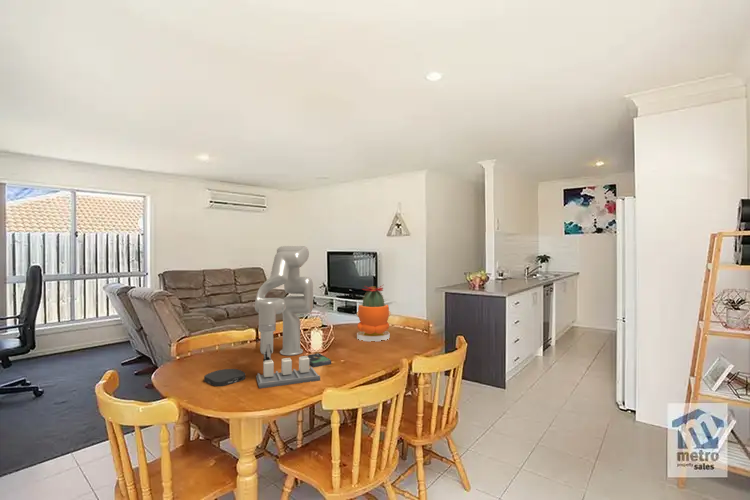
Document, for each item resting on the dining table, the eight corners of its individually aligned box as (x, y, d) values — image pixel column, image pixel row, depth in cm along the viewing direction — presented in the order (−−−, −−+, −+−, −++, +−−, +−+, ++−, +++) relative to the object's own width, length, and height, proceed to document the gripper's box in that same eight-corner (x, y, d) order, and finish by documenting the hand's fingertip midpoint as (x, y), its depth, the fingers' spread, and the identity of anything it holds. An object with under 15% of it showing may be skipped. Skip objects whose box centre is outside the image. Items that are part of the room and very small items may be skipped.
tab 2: (281, 372, 172) (281, 357, 172) (290, 371, 174) (290, 356, 174) (282, 375, 169) (282, 360, 168) (291, 374, 170) (291, 359, 170)
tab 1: (263, 374, 169) (263, 359, 169) (272, 373, 171) (272, 358, 171) (264, 377, 165) (264, 362, 165) (273, 376, 167) (273, 361, 167)
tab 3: (298, 370, 175) (298, 355, 175) (307, 369, 177) (307, 354, 177) (300, 372, 172) (300, 358, 172) (309, 371, 173) (309, 357, 173)
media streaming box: (231, 372, 177) (231, 366, 177) (248, 379, 168) (248, 372, 168) (200, 380, 166) (200, 374, 166) (217, 388, 157) (217, 381, 157)
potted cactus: (355, 335, 252) (356, 283, 252) (388, 334, 254) (389, 283, 254) (357, 343, 230) (358, 286, 230) (393, 342, 233) (394, 286, 233)
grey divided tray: (256, 377, 169) (256, 373, 169) (312, 370, 179) (312, 366, 179) (259, 388, 156) (259, 383, 156) (320, 380, 166) (320, 375, 166)
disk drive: (300, 361, 196) (313, 368, 184) (300, 356, 196) (313, 362, 184) (318, 358, 202) (331, 364, 190) (318, 352, 202) (331, 359, 190)
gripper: (257, 325, 178) (257, 363, 178) (260, 331, 164) (260, 373, 164) (273, 323, 181) (273, 362, 181) (277, 330, 167) (277, 371, 167)
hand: (267, 367), depth 172 cm, fingers closed
